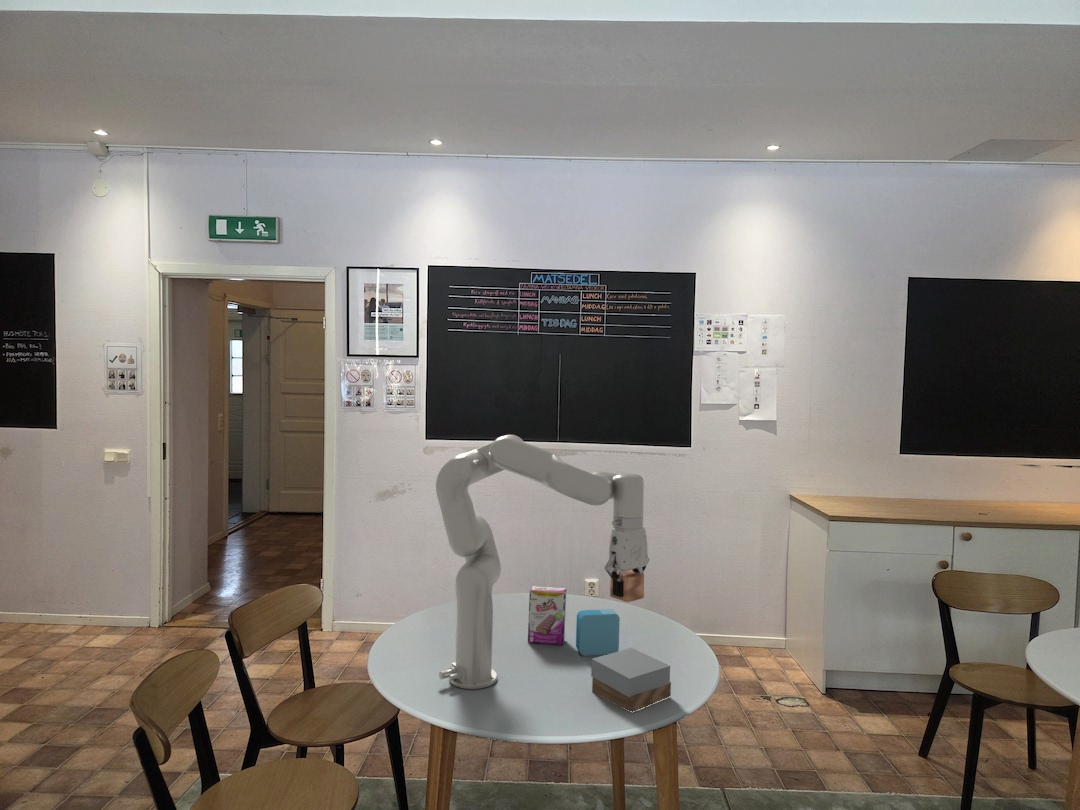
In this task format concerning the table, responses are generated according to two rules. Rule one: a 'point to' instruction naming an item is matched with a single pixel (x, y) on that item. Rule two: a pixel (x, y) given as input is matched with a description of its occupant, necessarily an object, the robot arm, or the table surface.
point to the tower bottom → (633, 701)
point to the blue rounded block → (597, 632)
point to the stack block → (630, 586)
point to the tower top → (630, 671)
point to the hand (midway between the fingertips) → (627, 592)
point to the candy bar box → (547, 615)
